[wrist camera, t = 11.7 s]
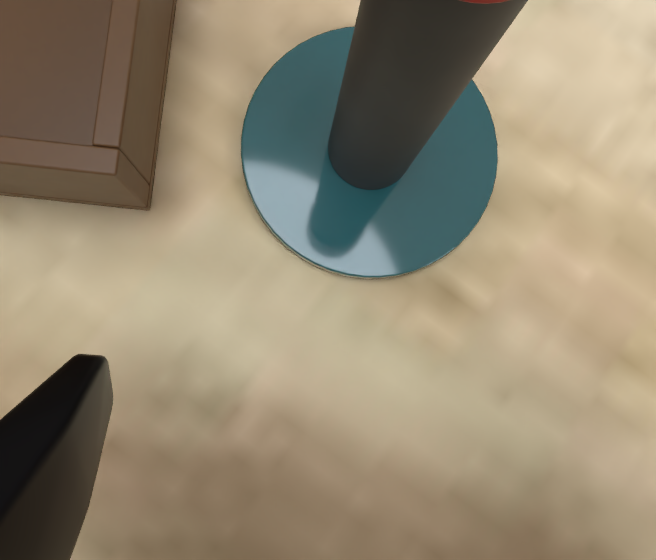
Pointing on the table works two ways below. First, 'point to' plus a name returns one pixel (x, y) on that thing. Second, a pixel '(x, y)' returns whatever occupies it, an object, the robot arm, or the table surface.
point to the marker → (407, 79)
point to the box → (82, 98)
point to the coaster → (347, 200)
